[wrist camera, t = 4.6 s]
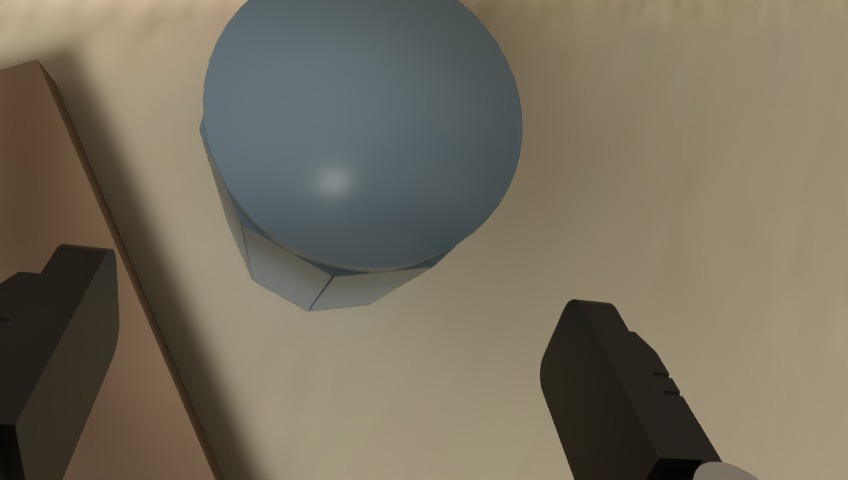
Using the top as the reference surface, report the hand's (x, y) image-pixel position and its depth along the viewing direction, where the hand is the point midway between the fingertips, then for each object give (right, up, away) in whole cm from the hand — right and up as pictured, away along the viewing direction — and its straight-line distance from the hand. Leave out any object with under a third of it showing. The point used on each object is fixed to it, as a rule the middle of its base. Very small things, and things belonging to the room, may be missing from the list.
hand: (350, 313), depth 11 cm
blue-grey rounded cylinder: (-2, +2, +9) cm, 9 cm away
